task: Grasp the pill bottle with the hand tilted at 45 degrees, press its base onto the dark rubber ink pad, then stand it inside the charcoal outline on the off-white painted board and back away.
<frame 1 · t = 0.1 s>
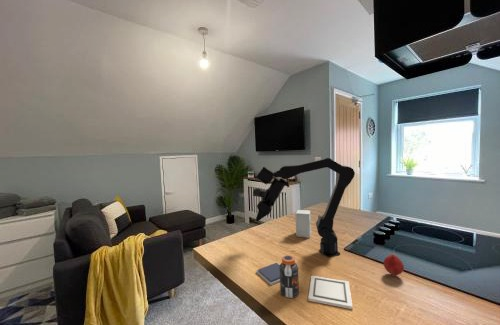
hand: (258, 217, 98), 15 cm above the counter, tool tilted 35°, fingers open, 9 cm apart
ink pad: (274, 274, 77), on the counter
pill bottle: (289, 292, 67), on the counter
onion: (393, 276, 73), on the counter
supplement box: (303, 235, 113), on the counter
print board: (329, 291, 66), on the counter
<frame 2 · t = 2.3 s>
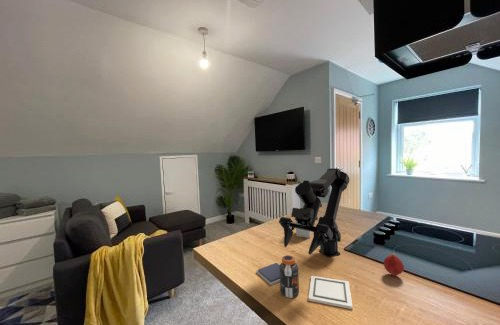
hand: (296, 250, 70), 12 cm above the counter, tool tilted 45°, fingers open, 9 cm apart
nothing on the counter moved.
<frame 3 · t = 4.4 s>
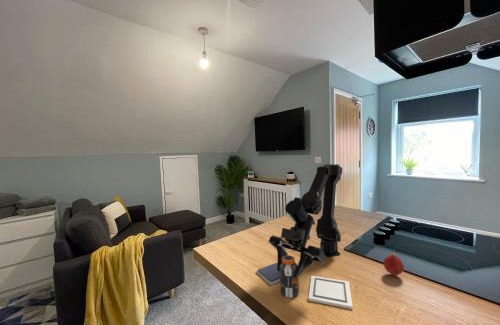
hand: (286, 274, 66), 7 cm above the counter, tool tilted 45°, fingers closed on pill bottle, 6 cm apart
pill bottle: (289, 292, 67), on the counter, touching gripper
everything else where it was.
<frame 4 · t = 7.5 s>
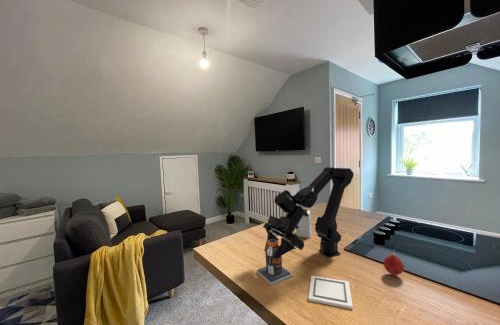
hand: (269, 254, 76), 8 cm above the counter, tool tilted 45°, fingers closed on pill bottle, 6 cm apart
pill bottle: (274, 271, 77), point 1 cm above the counter, touching gripper, ink pad
everything else where it was.
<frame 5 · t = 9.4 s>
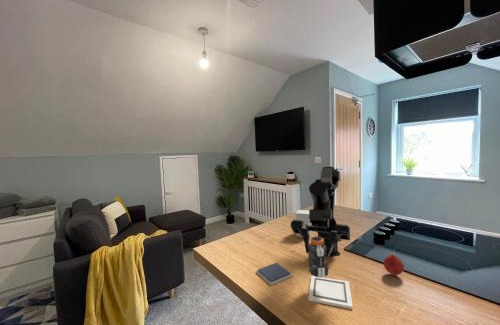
hand: (317, 254, 65), 12 cm above the counter, tool tilted 45°, fingers closed on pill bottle, 6 cm apart
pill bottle: (318, 273, 67), point 5 cm above the counter, touching gripper
everything else where it was.
when the fingers open (8 cm above the counter, at t = 11.1 s): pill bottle stays where it is, resting on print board.
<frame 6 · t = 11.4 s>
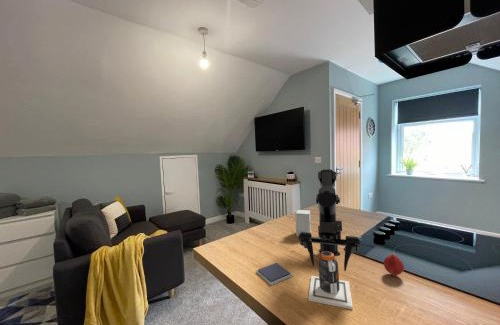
hand: (328, 268, 64), 8 cm above the counter, tool tilted 45°, fingers open, 9 cm apart
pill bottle: (329, 288, 66), point 1 cm above the counter, touching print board
everything else where it was.
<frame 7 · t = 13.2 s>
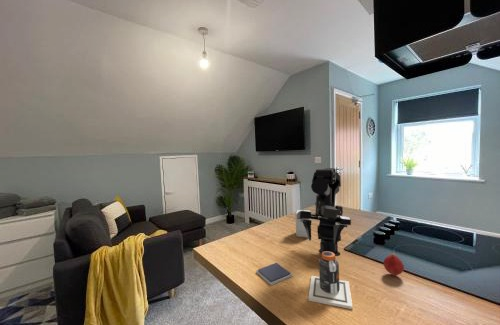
hand: (322, 242, 76), 11 cm above the counter, tool tilted 25°, fingers open, 9 cm apart
nothing on the counter moved.
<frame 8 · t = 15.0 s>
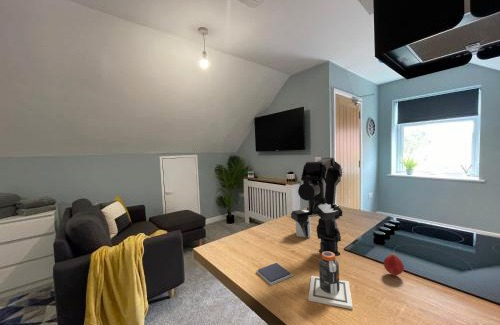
hand: (317, 236, 78), 13 cm above the counter, tool pointing down, fingers open, 9 cm apart
nothing on the counter moved.
at the end: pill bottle inside the target area on the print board (0.5 cm from its centre), point 0.6 cm above the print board's base; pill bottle tilted 0°; the gripper is holding nothing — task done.
